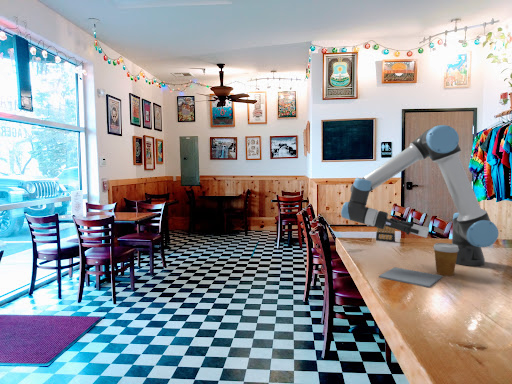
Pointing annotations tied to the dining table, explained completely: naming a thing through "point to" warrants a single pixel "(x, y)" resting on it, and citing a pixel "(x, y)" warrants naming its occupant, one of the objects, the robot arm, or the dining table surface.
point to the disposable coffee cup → (445, 258)
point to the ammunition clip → (386, 234)
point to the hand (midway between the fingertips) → (428, 232)
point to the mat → (411, 277)
